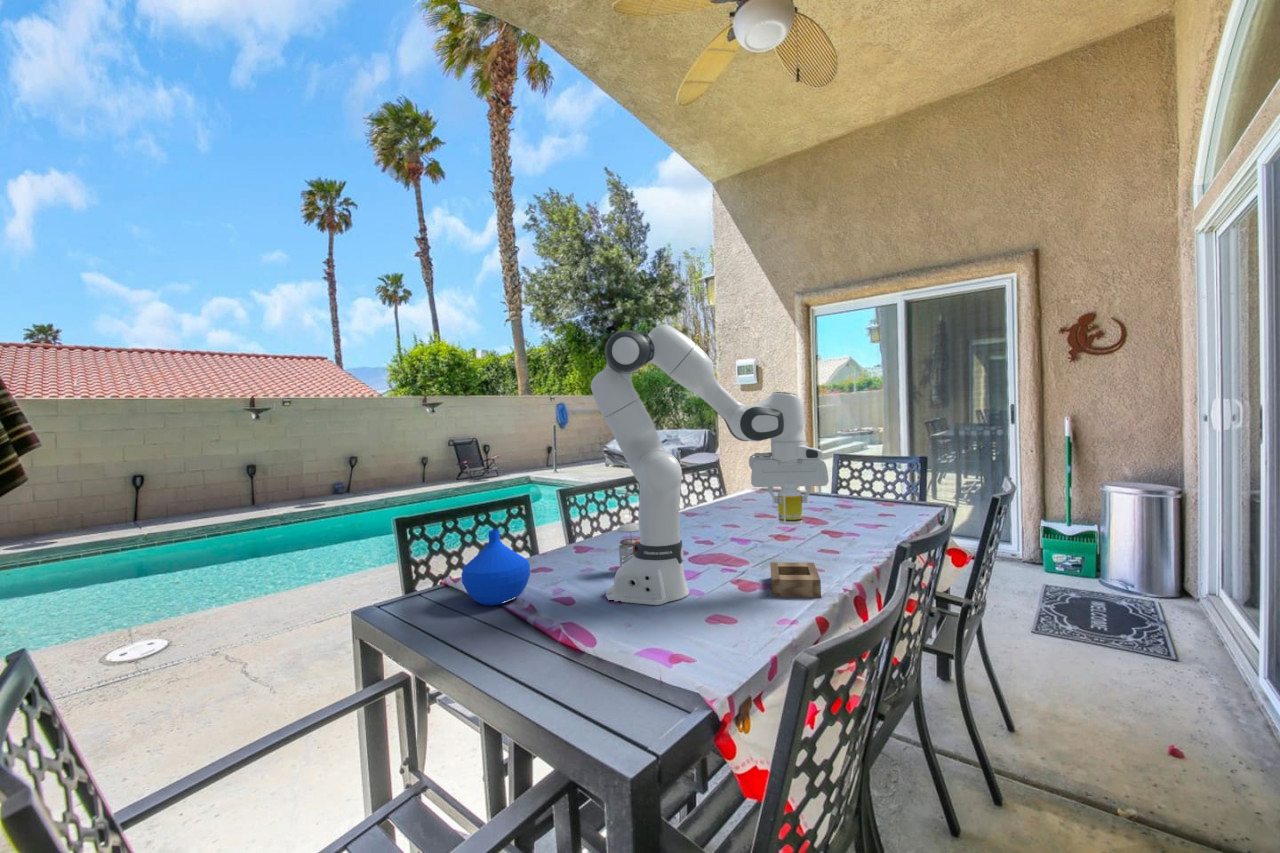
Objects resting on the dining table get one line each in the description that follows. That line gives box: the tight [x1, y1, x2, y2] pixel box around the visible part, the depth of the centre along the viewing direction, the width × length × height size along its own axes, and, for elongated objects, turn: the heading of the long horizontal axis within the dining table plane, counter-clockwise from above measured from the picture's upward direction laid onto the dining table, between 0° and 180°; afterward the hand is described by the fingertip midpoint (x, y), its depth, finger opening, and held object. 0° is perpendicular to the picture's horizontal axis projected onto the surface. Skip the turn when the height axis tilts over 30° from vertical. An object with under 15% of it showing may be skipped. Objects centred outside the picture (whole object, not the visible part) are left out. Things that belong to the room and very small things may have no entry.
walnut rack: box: [769, 561, 822, 598], centre depth 148 cm, size 12×16×4 cm
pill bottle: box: [777, 483, 803, 526], centre depth 148 cm, size 6×6×11 cm
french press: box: [616, 491, 640, 568], centre depth 170 cm, size 10×12×25 cm
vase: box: [461, 528, 531, 606], centre depth 151 cm, size 18×18×19 cm
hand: (789, 503), depth 148 cm, fingers closed on pill bottle, 6 cm apart
